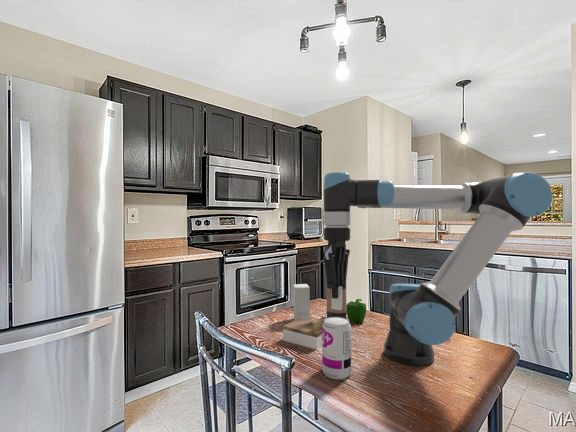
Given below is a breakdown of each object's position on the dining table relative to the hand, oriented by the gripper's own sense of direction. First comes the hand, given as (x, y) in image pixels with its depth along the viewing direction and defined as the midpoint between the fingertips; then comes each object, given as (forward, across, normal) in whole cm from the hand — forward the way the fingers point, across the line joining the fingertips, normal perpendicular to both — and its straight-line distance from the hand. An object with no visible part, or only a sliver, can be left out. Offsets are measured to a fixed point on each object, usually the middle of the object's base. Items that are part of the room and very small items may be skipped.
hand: (336, 308), depth 89 cm
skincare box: (+19, -31, -32) cm, 49 cm away
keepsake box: (+18, -15, -19) cm, 30 cm away
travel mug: (+19, -29, -14) cm, 37 cm away
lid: (+14, -15, -19) cm, 28 cm away
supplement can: (+19, 0, 0) cm, 19 cm away
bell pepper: (+19, -46, -14) cm, 51 cm away
